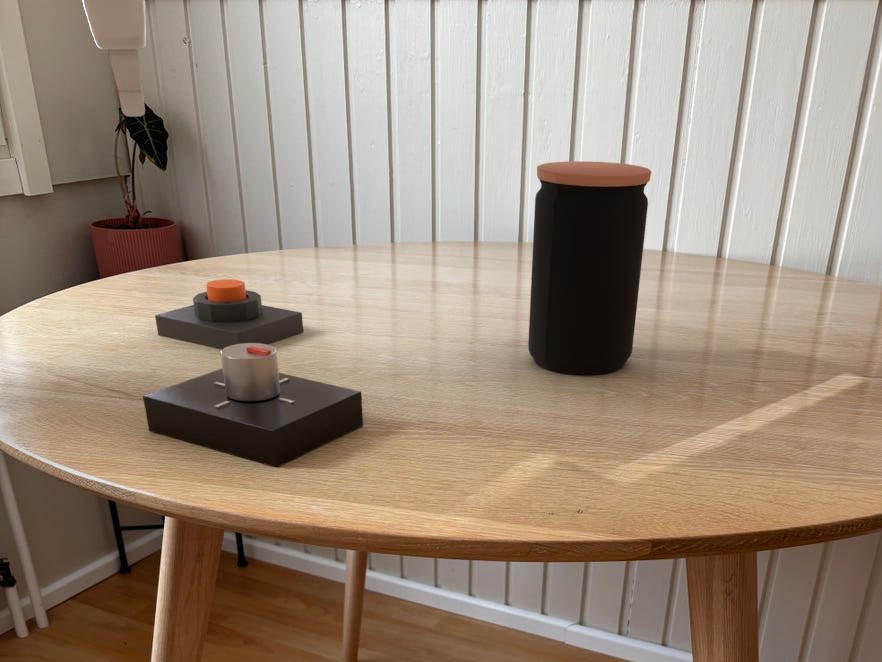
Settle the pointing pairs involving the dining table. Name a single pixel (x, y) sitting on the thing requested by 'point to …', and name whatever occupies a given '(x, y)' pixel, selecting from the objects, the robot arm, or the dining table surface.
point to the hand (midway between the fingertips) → (134, 111)
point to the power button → (226, 290)
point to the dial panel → (255, 417)
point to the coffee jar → (586, 265)
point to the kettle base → (229, 322)
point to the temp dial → (250, 371)
